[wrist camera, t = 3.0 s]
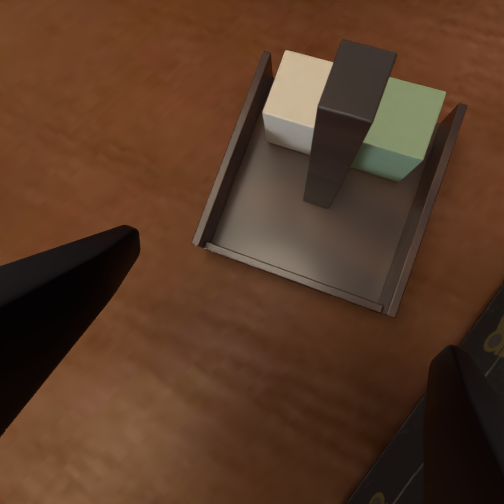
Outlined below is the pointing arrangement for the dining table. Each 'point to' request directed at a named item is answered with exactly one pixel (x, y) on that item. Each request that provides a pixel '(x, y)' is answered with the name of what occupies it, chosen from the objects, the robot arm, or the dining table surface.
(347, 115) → the brown tray with post
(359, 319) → the dining table surface
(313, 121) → the cream block
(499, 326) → the cash box
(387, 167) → the sage block
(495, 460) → the robot arm
